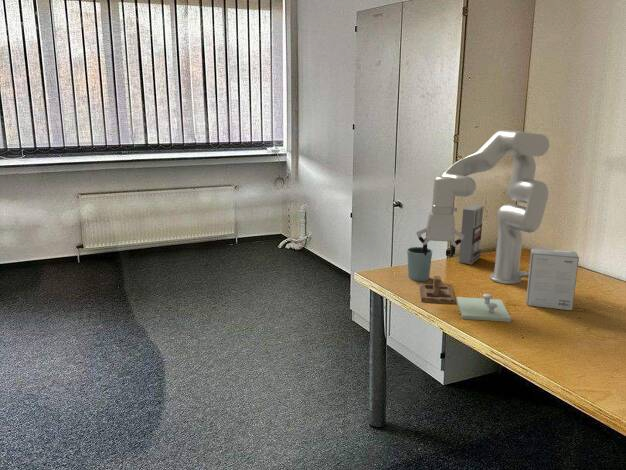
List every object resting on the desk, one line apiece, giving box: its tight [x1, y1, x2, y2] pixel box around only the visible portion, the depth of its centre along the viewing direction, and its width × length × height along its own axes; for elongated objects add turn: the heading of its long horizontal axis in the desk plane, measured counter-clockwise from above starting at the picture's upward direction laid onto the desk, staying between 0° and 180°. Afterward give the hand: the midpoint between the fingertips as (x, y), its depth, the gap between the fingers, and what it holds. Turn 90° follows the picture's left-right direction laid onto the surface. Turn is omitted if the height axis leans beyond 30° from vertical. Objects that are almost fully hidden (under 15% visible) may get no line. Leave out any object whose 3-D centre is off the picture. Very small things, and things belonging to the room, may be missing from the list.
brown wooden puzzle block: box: [418, 275, 456, 305], centre depth 209 cm, size 12×16×7 cm
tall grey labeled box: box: [458, 204, 485, 265], centre depth 252 cm, size 14×6×25 cm, turn 147°
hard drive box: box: [525, 248, 580, 311], centre depth 199 cm, size 16×8×20 cm, turn 71°
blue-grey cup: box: [406, 246, 433, 282], centre depth 228 cm, size 10×10×12 cm
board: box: [455, 293, 512, 323], centre depth 194 cm, size 16×18×4 cm
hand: (438, 255), depth 205 cm, fingers open, 9 cm apart
